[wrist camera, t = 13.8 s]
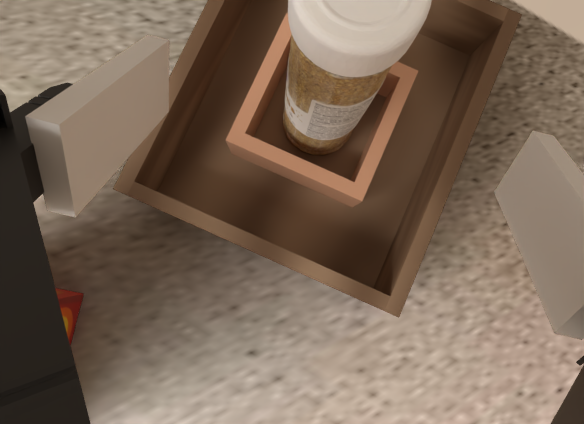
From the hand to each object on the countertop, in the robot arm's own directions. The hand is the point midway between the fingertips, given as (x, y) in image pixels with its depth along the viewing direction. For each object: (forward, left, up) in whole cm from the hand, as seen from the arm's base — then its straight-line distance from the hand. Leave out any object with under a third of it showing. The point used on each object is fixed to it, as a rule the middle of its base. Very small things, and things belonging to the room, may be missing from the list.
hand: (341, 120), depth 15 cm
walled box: (-1, +3, -12) cm, 12 cm away
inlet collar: (-1, +3, -11) cm, 11 cm away
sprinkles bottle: (-1, +3, -11) cm, 11 cm away
